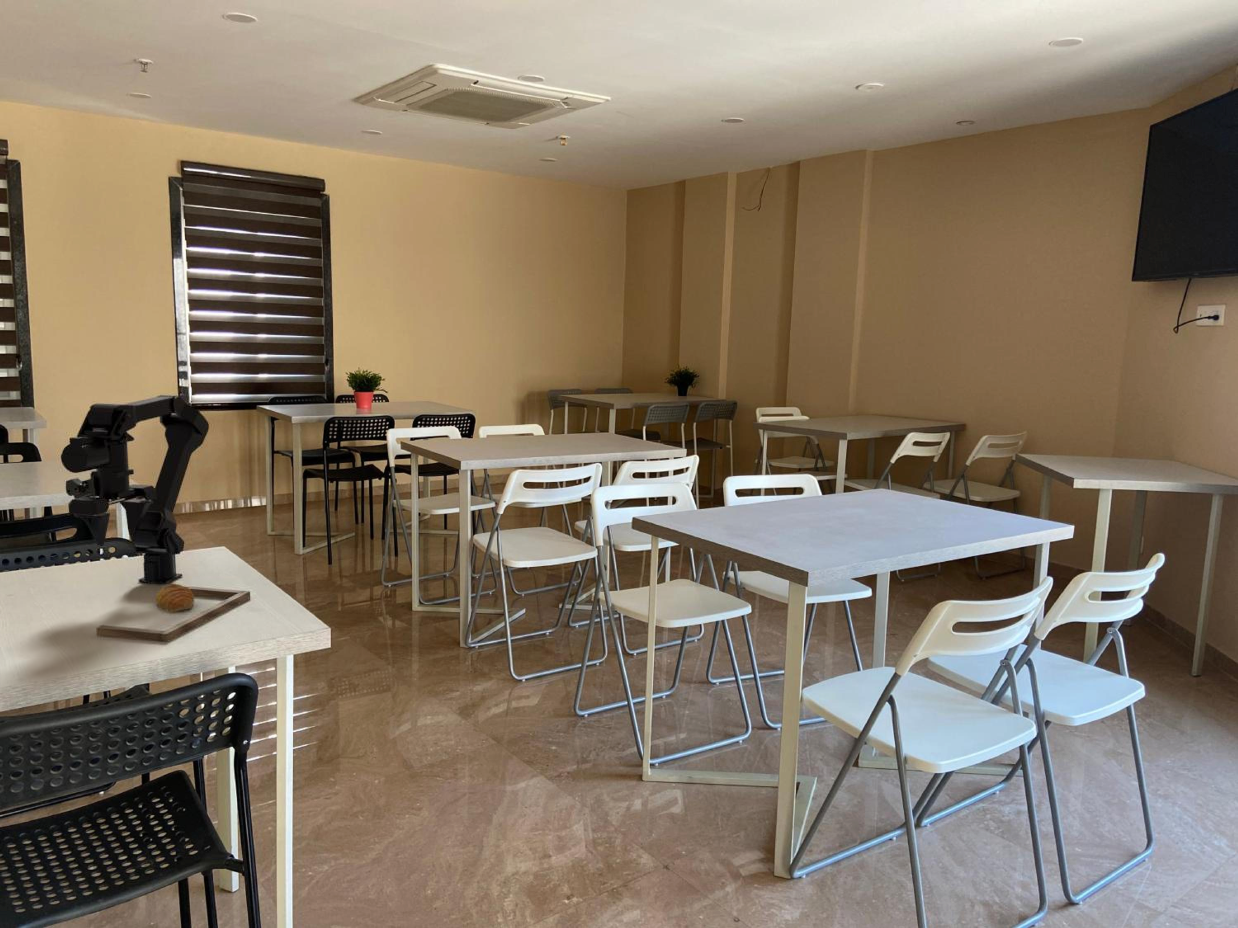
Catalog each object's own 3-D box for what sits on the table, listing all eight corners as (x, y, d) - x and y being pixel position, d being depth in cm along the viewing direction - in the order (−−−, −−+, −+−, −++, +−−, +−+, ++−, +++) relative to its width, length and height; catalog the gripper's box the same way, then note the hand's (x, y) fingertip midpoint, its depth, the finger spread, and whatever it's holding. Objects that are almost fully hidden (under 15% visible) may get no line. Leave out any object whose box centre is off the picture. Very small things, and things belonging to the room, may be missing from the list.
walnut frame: (189, 593, 190) (188, 586, 190) (250, 598, 188) (250, 591, 188) (96, 635, 164) (96, 627, 163) (166, 641, 162) (166, 633, 161)
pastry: (201, 609, 180) (200, 591, 180) (165, 616, 176) (164, 597, 175) (188, 598, 187) (187, 580, 187) (152, 604, 183) (151, 586, 182)
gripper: (109, 457, 193) (113, 528, 195) (41, 470, 174) (46, 548, 177) (156, 459, 191) (160, 531, 193) (92, 473, 173) (97, 552, 175)
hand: (116, 540), depth 185 cm, fingers open, 9 cm apart
